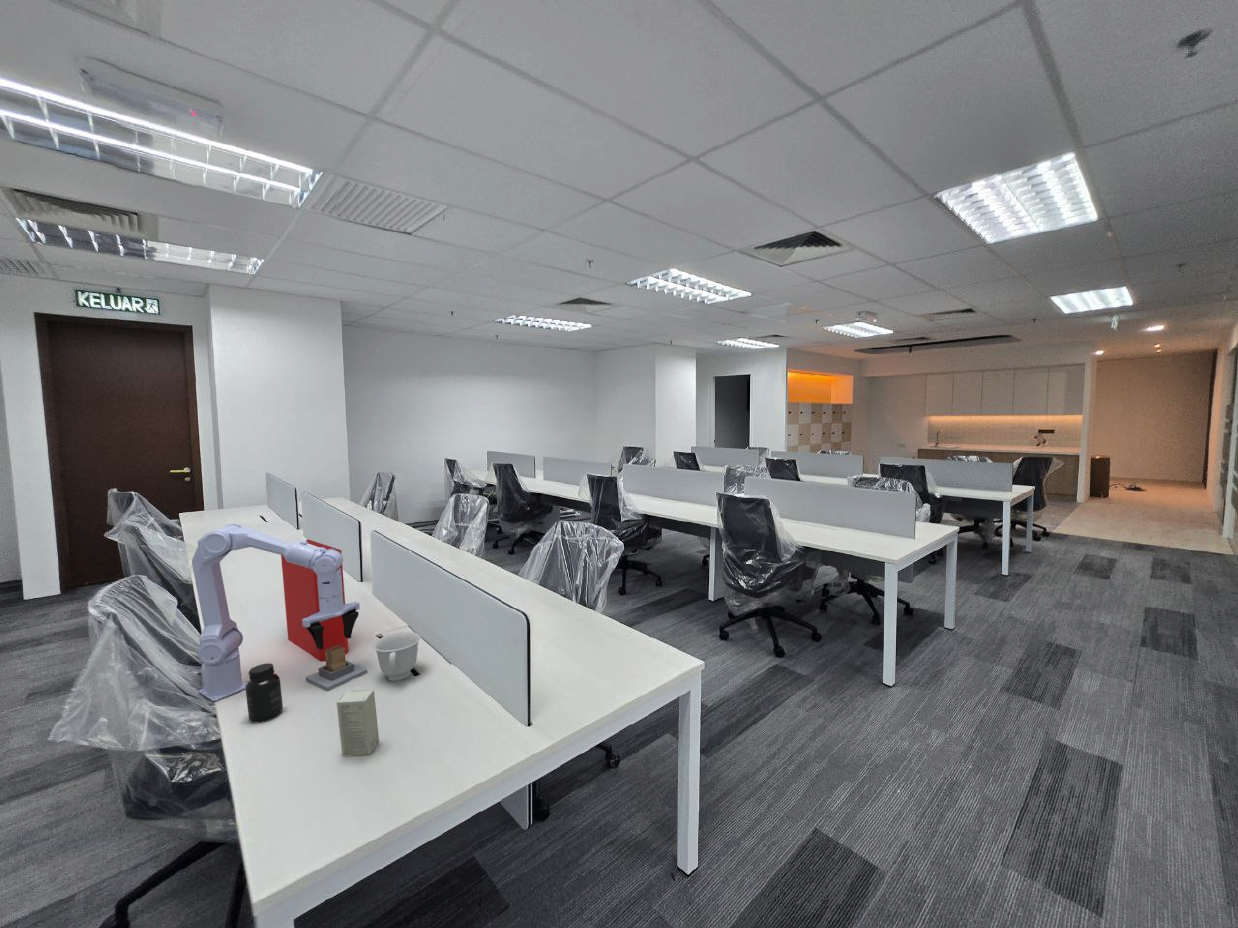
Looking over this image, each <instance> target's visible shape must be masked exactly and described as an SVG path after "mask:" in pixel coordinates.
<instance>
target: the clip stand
mask: <svg viewBox="0 0 1238 928" xmlns="http://www.w3.org/2000/svg"><path fill="white" fill-rule="evenodd" d="M366 674H368V669H367V668H365V667H363V666H360V665H357V664H355V663H353V662H351V661H348V660H346V666H345V667H343V668H340V669H338V670H336V671H334V672H331V671H329V670H327V669H326V664H325V665H324V666H321V667H318V671H316V672H314V673H312V674H310V675H307V676H305V681H306V682H308V683H309V684H312V685H314V686H316V687H318V688H320V689H322V690H324V691H326V692H328V691H329V692H330V691H331V690H333V689H335V688H338V687H340V686H342V685H344V684H346V683H349V682H351V681H353V680H355V679H357V678H359V677H361V676H363V675H366ZM354 678H355V679H354ZM352 679H353V680H352ZM350 680H351V681H350ZM343 683H344V684H343Z"/></svg>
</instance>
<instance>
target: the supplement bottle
mask: <svg viewBox="0 0 1238 928" xmlns="http://www.w3.org/2000/svg"><path fill="white" fill-rule="evenodd" d="M248 675H249V676H248V678H249V680H248V681H247V683H245V684H246V687H245V689H244V690H245V698H246V705H247V713H248V714H247V715H248V719H249V721H250V723H251V722H252V723H254V722H259V723H263V721H264V722H267V720H268V721H270V720H273V719H275V718H277V717H278V716H279V715H280V714H281V713H282V711H283V709H284V706H283V695H282V686H281V678H280V676H279V675H278V674H277V673H275V668H274V664H273V663H262V664H258V665H256V666H253V667H251V668H250V669H249V671H248ZM272 718H273V719H272Z"/></svg>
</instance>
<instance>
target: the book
mask: <svg viewBox="0 0 1238 928" xmlns="http://www.w3.org/2000/svg"><path fill="white" fill-rule="evenodd" d="M305 541H306V542H307V544H308V545H311V546H314V547H317V548H322V547H323V548H325V550H328V549H335V550H336V551H338V552H340V553H341V555H342V550H341V549H339V548H336V547H333V546H331V545H326V544H323V543H320V542H317V541H313V540H312V539H306V540H305ZM342 556H343V555H342ZM280 557H281V558H280V559H281V572H282V581H283V583H282V584H283V593H284V604H285V618H286V628H287V629H286V630H287V640H288V641H289V642H291V643H292V644H294V645H295V646H297V647H298V648H299V649H301V650H302V651H305V653H307V654H308V653H309V654H308V655H310V656H311V657H313V658H314V659H316V660H318V661H319V662H320V663H323V662H325V663H326V657H325V650H327V649H329V648H332V647H334V646H337V645H339V646H341V647H344V648H345V656H346V655H348V654H349V652H350V649H349V647H350V646H349V639H348V638H346V637H345V636H344V626H343V620H342V617H341V615H340V616H337V617H333V618H330V619H327V620H324V621H321V622H319V623H321V625H322V626H324V630H323V644H324V647H323V649H321V650H320V649H318V648H317V647H316V644H315V641H314V639H313V637H312V635H311V634H310V632H309V631H308V630H307V628H306V627H304V626H303V623H302V619H304V618H307V617H309V616H311V615H313V614H315V613H317V612H320V608H319V594H318V582H317V581H318V578H317V574H316V573H315V572H314V571H313V569H310V568H306V567H303V566H300V565H297V564H293V563H290V562H287V561H286V559H285V557H284V556H283V555H280ZM339 568H341V577H342V591H343V605H344V604H346V597H345V596H346V595H345V593H346V592H345V583H344V582H345V581H344V569H343V568H344V567H343V563H342V564H341V566H340V567H339ZM339 568H338V569H339Z"/></svg>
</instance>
